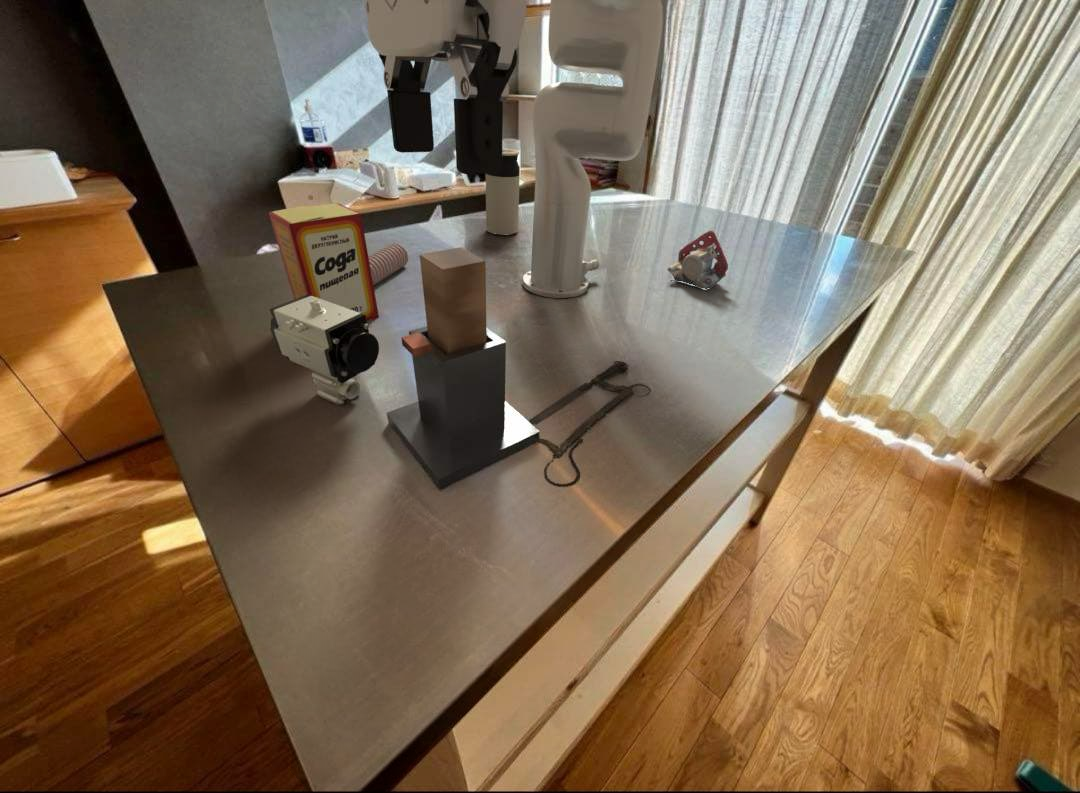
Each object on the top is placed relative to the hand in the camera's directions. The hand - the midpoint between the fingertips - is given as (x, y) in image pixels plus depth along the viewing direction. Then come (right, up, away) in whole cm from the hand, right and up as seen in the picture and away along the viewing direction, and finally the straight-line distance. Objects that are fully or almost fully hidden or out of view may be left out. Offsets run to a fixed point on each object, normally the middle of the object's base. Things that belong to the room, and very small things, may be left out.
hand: (444, 161), depth 32 cm
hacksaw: (+14, -20, +20) cm, 32 cm away
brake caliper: (+39, +6, +57) cm, 69 cm away
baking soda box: (-24, -5, +36) cm, 44 cm away
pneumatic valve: (-17, -17, +20) cm, 32 cm away
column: (-1, -20, +15) cm, 25 cm away
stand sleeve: (-1, -21, +16) cm, 27 cm away
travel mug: (-3, +24, +78) cm, 82 cm away
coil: (-23, +4, +49) cm, 55 cm away
